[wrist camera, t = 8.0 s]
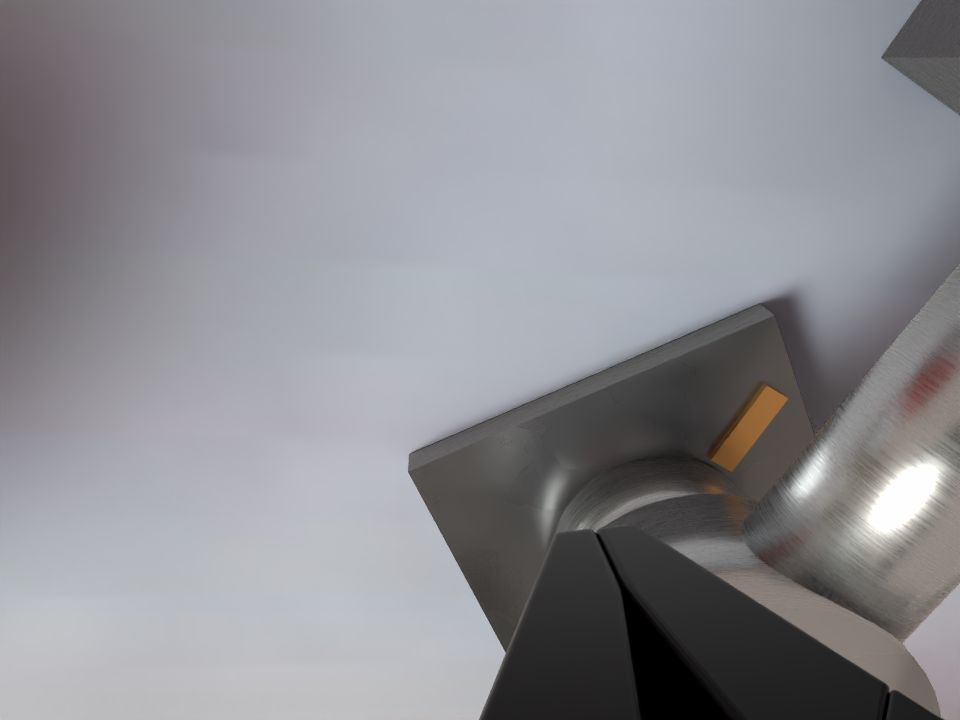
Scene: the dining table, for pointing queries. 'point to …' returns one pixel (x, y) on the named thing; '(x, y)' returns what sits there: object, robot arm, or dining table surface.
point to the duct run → (931, 50)
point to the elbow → (853, 510)
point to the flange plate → (613, 452)
